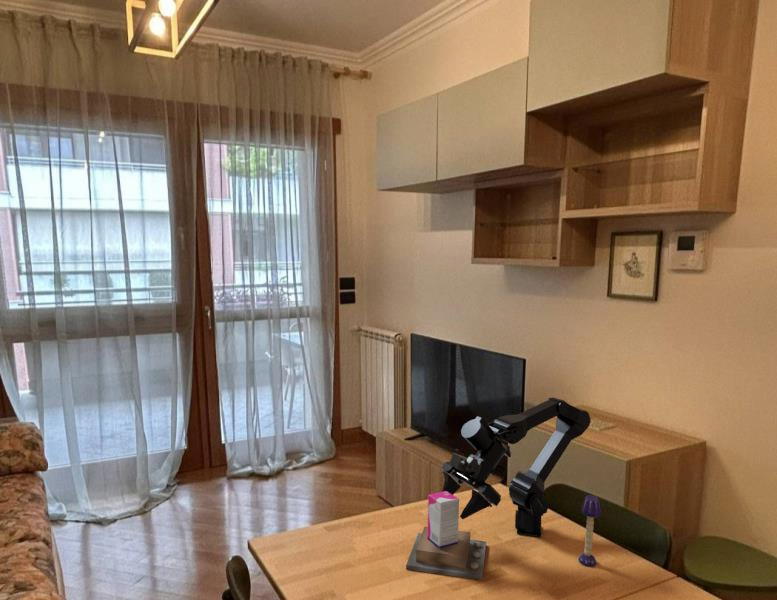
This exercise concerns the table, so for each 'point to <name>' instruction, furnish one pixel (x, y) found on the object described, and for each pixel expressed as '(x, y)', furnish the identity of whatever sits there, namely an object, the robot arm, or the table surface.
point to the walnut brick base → (450, 569)
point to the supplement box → (443, 519)
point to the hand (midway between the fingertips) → (450, 510)
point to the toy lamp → (589, 528)
